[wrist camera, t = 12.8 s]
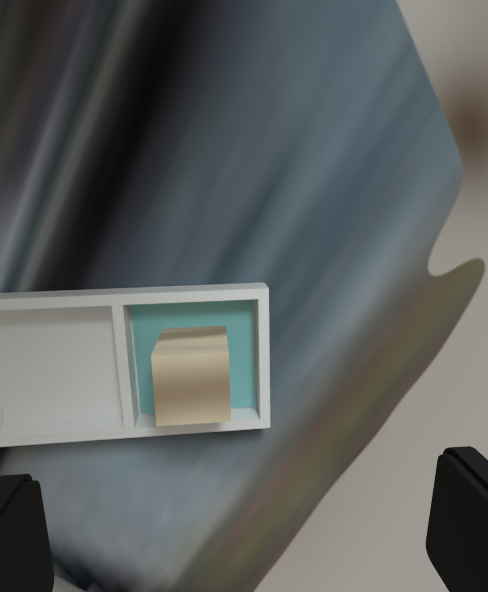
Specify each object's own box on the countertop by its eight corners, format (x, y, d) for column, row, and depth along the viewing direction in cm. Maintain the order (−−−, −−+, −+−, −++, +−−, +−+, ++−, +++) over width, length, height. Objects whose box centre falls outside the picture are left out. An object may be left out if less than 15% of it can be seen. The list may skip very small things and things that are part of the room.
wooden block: (162, 328, 30) (150, 355, 24) (225, 325, 30) (228, 351, 24) (166, 386, 31) (156, 426, 25) (227, 382, 31) (231, 421, 25)
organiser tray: (-26, 293, 28) (-48, 301, 26) (264, 282, 30) (268, 288, 28) (-1, 430, 31) (-19, 448, 28) (265, 412, 33) (270, 427, 30)
